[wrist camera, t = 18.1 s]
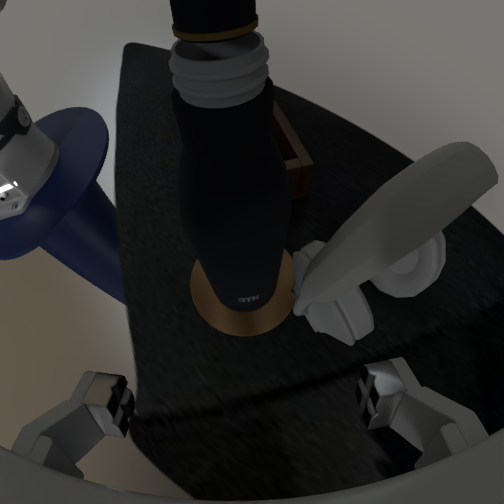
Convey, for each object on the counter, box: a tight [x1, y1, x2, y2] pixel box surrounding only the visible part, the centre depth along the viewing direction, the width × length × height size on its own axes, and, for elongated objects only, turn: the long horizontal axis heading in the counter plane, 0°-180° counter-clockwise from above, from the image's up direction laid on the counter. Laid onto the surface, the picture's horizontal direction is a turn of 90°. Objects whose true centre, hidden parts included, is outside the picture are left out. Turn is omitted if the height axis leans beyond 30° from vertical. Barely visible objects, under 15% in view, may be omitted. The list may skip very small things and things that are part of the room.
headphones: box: [290, 142, 498, 346], centre depth 21 cm, size 19×9×20 cm, turn 119°
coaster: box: [190, 248, 295, 336], centre depth 30 cm, size 11×11×1 cm
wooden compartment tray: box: [272, 100, 314, 200], centre depth 34 cm, size 10×19×6 cm, turn 18°
